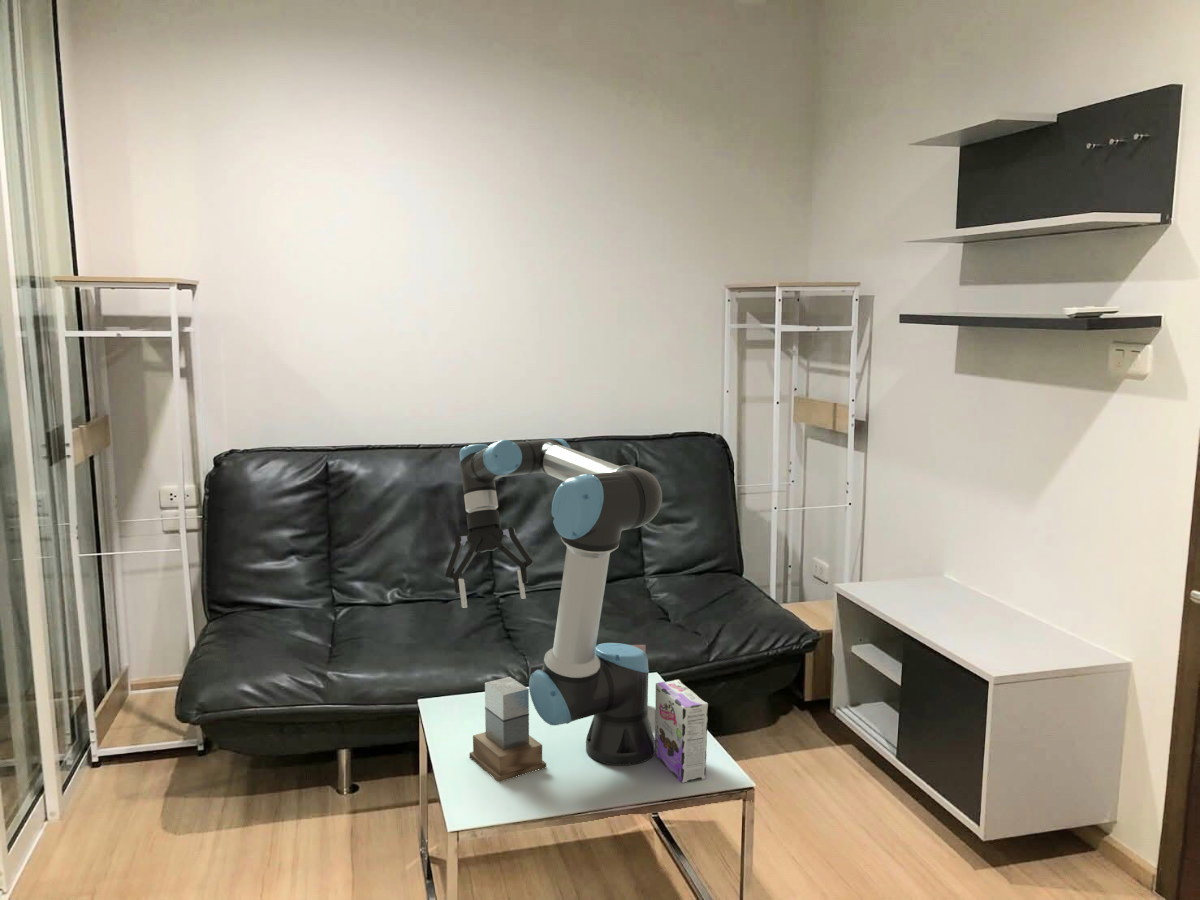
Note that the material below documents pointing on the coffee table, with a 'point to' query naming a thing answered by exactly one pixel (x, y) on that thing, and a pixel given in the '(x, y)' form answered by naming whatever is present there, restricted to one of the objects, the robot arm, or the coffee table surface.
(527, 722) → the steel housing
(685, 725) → the candy box
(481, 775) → the coffee table surface
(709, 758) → the coffee table surface
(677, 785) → the coffee table surface
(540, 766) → the walnut stand
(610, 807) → the coffee table surface
